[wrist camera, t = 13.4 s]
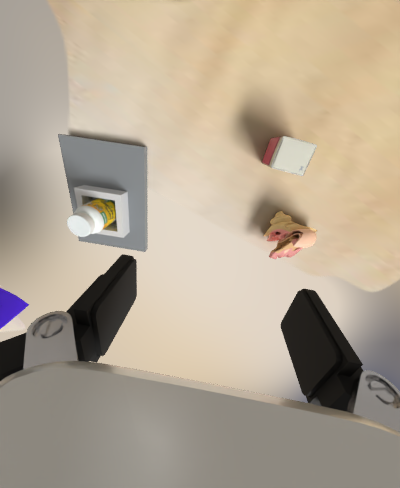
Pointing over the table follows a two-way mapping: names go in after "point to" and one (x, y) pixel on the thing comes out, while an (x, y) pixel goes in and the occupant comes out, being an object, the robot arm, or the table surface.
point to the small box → (289, 154)
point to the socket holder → (109, 186)
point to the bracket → (9, 306)
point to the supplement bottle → (92, 217)
